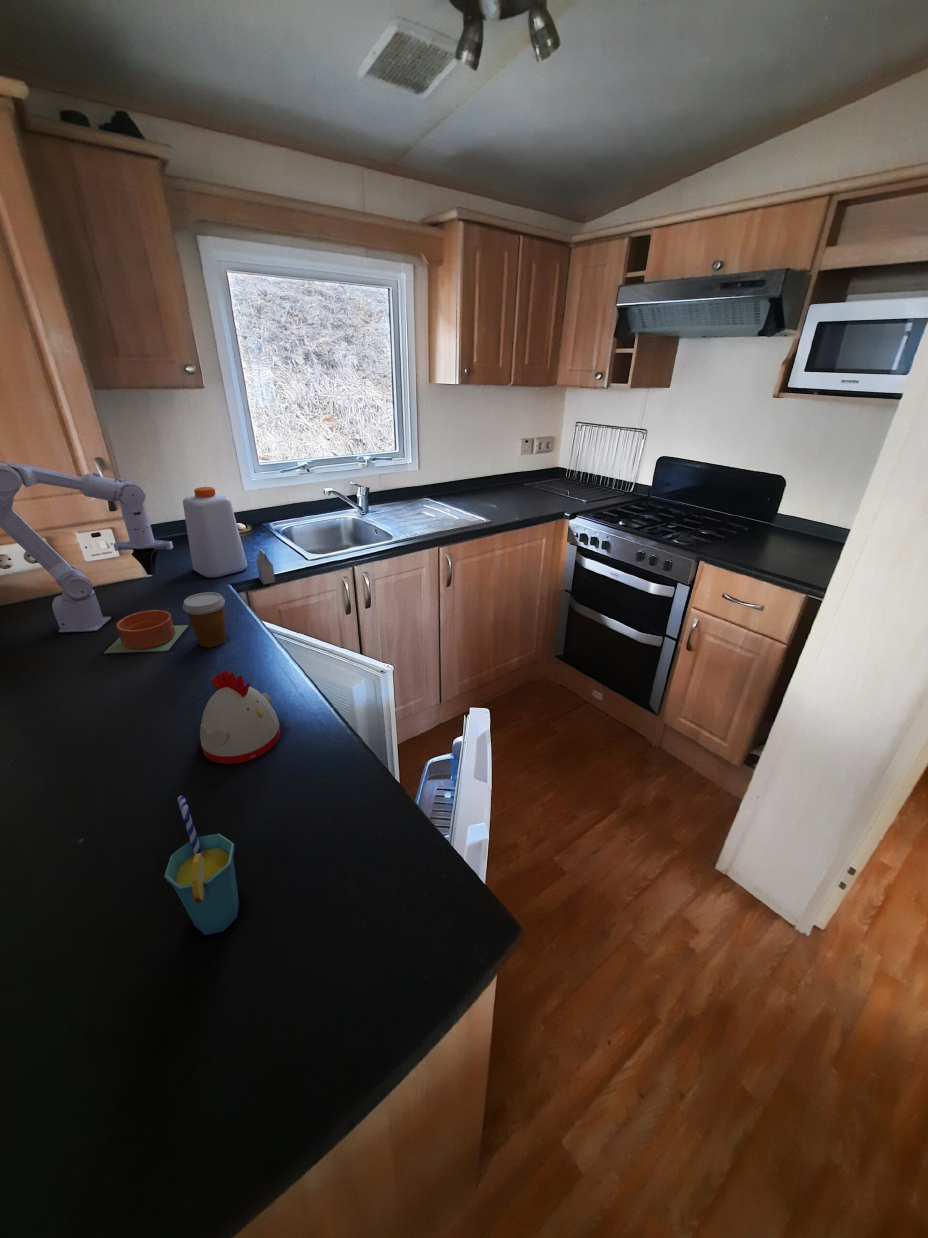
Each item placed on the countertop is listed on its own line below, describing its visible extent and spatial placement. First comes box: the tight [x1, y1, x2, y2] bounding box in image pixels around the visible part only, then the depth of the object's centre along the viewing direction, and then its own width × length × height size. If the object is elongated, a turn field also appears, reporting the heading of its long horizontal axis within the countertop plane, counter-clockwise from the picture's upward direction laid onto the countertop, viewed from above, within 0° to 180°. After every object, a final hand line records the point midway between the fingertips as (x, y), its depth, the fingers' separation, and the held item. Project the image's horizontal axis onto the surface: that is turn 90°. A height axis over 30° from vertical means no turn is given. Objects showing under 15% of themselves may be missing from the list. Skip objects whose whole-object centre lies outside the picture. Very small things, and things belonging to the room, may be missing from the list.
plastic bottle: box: [182, 486, 248, 579], centre depth 170 cm, size 15×15×28 cm
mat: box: [103, 624, 189, 654], centre depth 131 cm, size 15×14×1 cm
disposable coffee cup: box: [182, 591, 227, 648], centre depth 128 cm, size 10×10×12 cm
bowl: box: [116, 609, 176, 649], centre depth 130 cm, size 12×12×6 cm
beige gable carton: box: [255, 548, 276, 585], centre depth 166 cm, size 4×7×10 cm, turn 33°
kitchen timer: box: [199, 669, 282, 765], centre depth 94 cm, size 14×14×15 cm
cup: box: [163, 795, 240, 936], centre depth 63 cm, size 14×8×15 cm, turn 37°
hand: (151, 573), depth 144 cm, fingers closed
